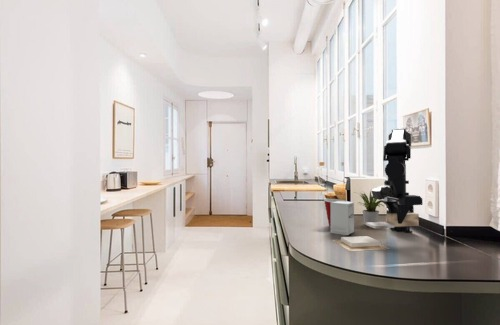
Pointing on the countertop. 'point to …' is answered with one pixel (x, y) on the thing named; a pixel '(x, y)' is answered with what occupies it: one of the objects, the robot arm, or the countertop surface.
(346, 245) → the board
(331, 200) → the plastic cup
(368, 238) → the tile
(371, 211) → the house plant
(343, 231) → the supplement box
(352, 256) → the countertop surface
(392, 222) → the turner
